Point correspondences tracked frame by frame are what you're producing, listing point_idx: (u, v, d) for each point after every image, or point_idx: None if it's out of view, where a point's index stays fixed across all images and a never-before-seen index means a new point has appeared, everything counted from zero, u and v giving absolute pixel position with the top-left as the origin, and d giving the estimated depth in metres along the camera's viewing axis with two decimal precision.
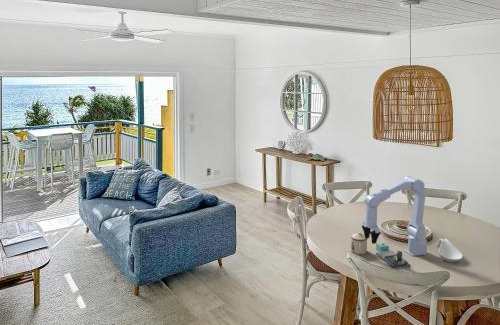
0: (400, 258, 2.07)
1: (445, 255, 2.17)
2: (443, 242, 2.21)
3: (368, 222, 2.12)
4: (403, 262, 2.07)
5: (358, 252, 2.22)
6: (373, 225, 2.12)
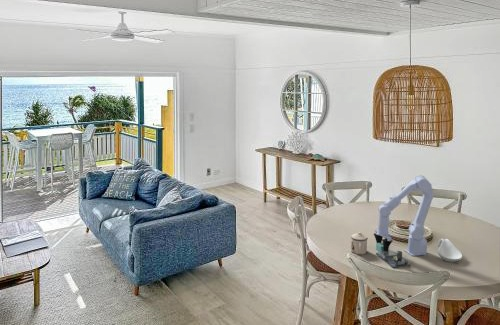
0: (400, 258, 2.07)
1: (445, 255, 2.17)
2: (443, 242, 2.22)
3: (380, 230, 2.23)
4: (403, 262, 2.07)
5: (358, 252, 2.22)
6: (385, 233, 2.22)
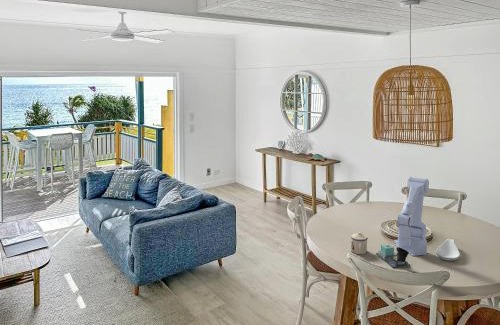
0: None
1: (444, 254, 2.18)
2: (447, 241, 2.22)
3: (401, 242, 2.01)
4: (403, 262, 2.07)
5: (358, 252, 2.22)
6: (406, 245, 2.01)
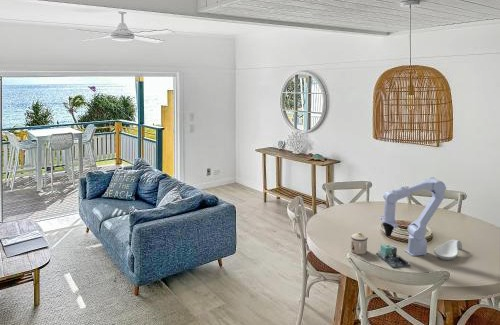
0: (395, 254, 2.12)
1: (444, 253, 2.19)
2: (450, 241, 2.22)
3: (386, 218, 2.17)
4: (398, 258, 2.12)
5: (358, 252, 2.22)
6: (391, 221, 2.17)
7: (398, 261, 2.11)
